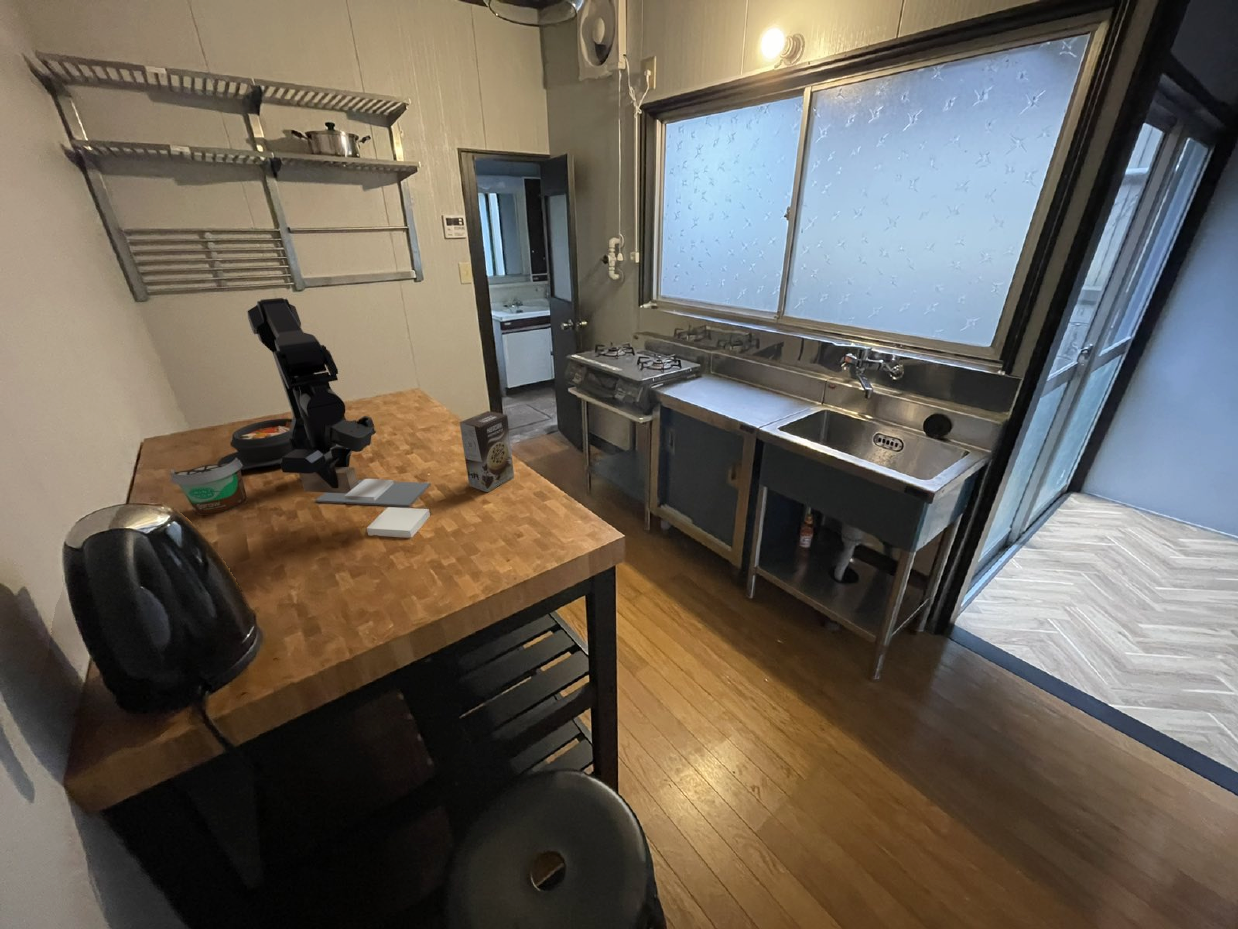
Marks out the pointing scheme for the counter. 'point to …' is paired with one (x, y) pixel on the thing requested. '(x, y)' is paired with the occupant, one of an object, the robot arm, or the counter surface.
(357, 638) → the counter surface
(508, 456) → the coffee box
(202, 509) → the food container
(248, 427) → the casserole
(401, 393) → the counter surface
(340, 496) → the rest mat
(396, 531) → the glazed tile
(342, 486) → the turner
